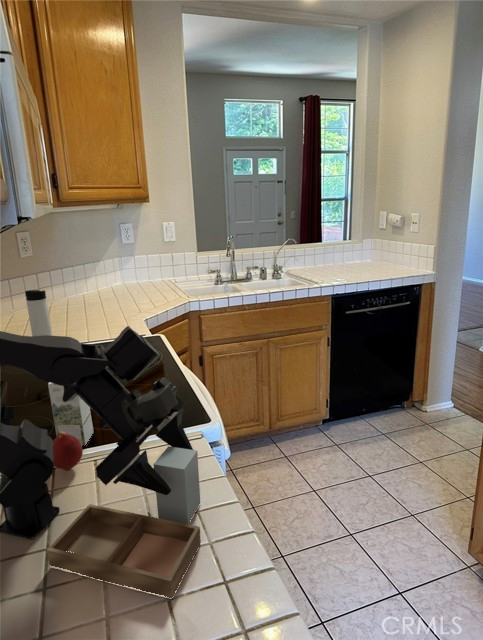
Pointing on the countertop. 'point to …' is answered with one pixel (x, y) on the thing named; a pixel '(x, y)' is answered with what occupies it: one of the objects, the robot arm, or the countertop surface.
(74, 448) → the onion
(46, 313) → the travel mug
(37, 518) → the robot arm
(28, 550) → the countertop surface
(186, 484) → the grey tall block
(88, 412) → the syrup box
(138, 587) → the slot holder
